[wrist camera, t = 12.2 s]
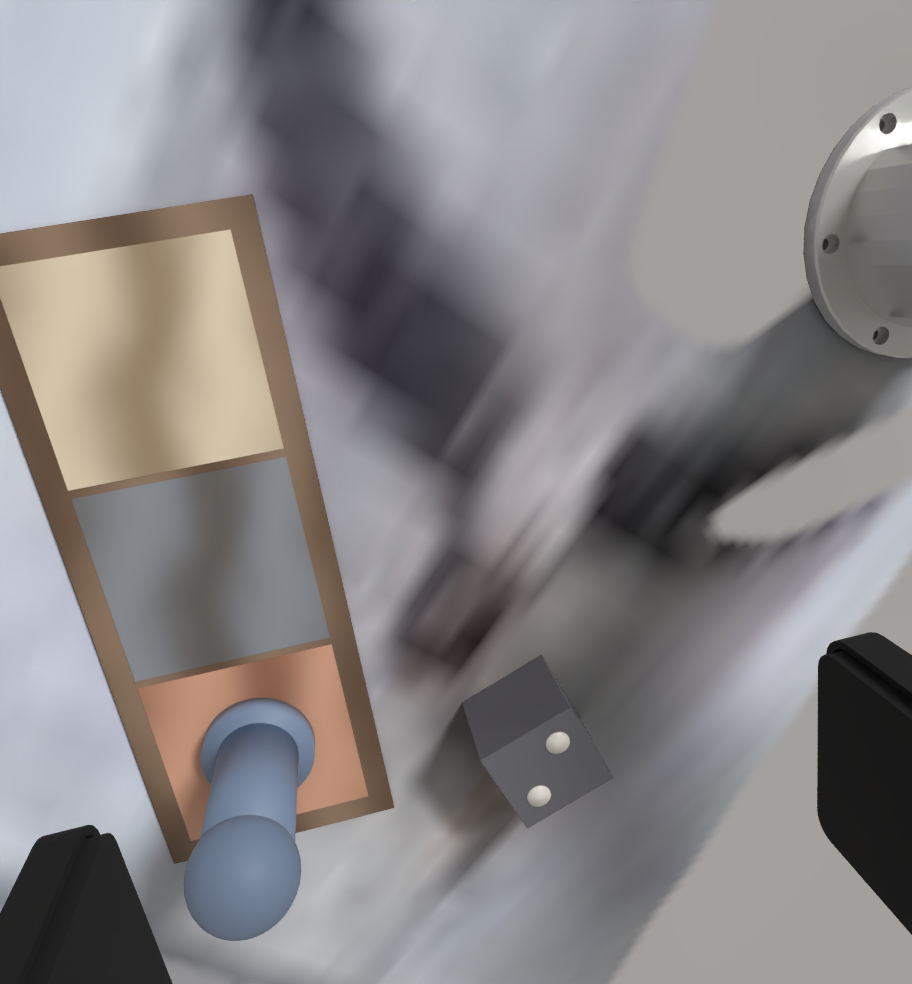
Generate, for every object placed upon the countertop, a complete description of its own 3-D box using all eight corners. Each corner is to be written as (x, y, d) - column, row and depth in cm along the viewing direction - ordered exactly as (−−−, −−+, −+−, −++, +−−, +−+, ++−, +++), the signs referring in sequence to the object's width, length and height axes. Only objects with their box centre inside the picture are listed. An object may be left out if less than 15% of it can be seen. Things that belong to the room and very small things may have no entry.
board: (252, 194, 31) (252, 194, 30) (393, 805, 41) (394, 807, 41) (-51, 241, 29) (-53, 241, 29) (174, 861, 40) (174, 864, 40)
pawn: (301, 686, 38) (294, 846, 27) (325, 775, 39) (326, 955, 29) (190, 712, 37) (140, 886, 27) (219, 801, 39) (183, 995, 29)
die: (540, 654, 40) (570, 708, 35) (580, 718, 42) (613, 778, 37) (461, 701, 40) (480, 761, 35) (504, 764, 42) (527, 829, 37)
